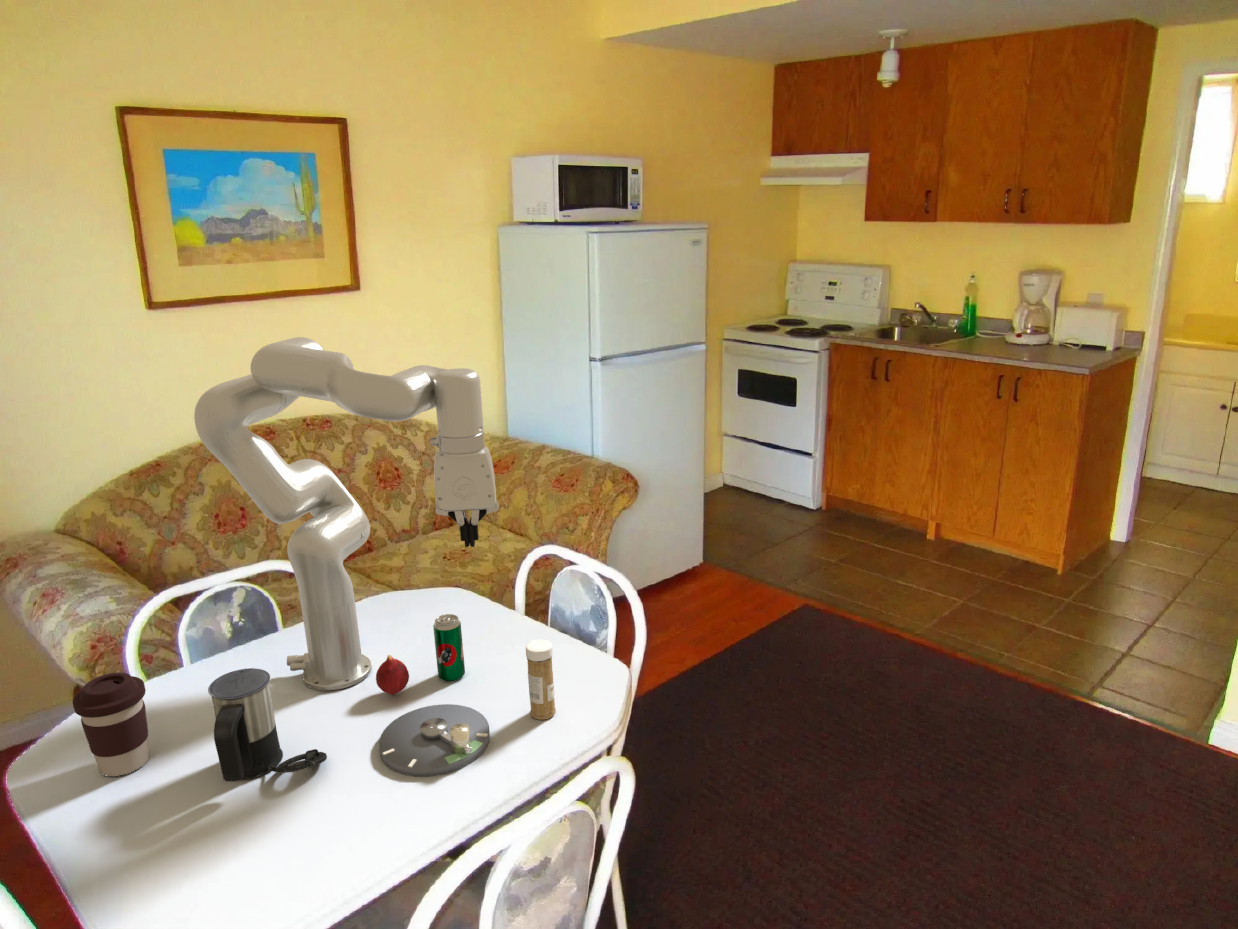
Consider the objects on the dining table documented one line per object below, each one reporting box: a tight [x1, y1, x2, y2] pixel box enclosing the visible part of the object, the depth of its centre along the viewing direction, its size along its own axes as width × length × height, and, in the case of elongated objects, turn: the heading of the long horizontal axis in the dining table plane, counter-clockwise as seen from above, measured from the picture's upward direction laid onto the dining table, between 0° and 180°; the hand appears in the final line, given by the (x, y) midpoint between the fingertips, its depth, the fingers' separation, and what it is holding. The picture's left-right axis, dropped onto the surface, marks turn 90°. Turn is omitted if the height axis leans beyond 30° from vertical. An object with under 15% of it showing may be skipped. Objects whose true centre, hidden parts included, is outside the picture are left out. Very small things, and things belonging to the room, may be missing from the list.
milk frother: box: [207, 667, 328, 783], centre depth 137 cm, size 14×16×15 cm
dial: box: [378, 703, 491, 778], centre depth 144 cm, size 18×18×2 cm
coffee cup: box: [72, 672, 150, 777], centre depth 138 cm, size 10×10×15 cm
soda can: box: [432, 613, 466, 683], centre depth 162 cm, size 5×5×12 cm
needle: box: [420, 718, 472, 754], centre depth 141 cm, size 11×4×4 cm, turn 49°
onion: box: [375, 654, 410, 696], centre depth 157 cm, size 6×6×8 cm
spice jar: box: [525, 639, 557, 721], centre depth 150 cm, size 5×5×14 cm
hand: (470, 544), depth 151 cm, fingers closed
